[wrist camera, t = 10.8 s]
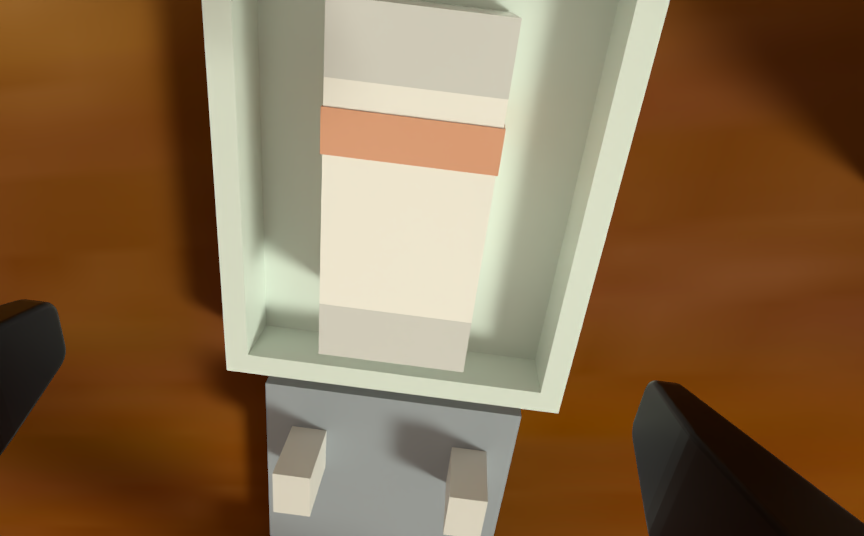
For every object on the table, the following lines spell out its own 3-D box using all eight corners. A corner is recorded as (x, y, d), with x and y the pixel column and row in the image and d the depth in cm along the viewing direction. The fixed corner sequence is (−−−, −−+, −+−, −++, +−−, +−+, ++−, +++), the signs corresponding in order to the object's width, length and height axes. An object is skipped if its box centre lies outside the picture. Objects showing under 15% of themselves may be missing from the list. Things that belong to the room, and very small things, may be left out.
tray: (549, 371, 22) (558, 413, 20) (251, 332, 22) (226, 370, 20) (663, -84, 15) (696, -98, 13) (231, -136, 16) (190, -158, 13)
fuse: (466, 305, 21) (464, 373, 17) (344, 290, 21) (316, 354, 17) (513, 12, 16) (524, 18, 13) (356, -7, 16) (322, -6, 13)
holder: (470, 604, 29) (470, 689, 26) (281, 578, 29) (254, 660, 26) (518, 391, 23) (526, 465, 19) (277, 360, 23) (241, 427, 19)
